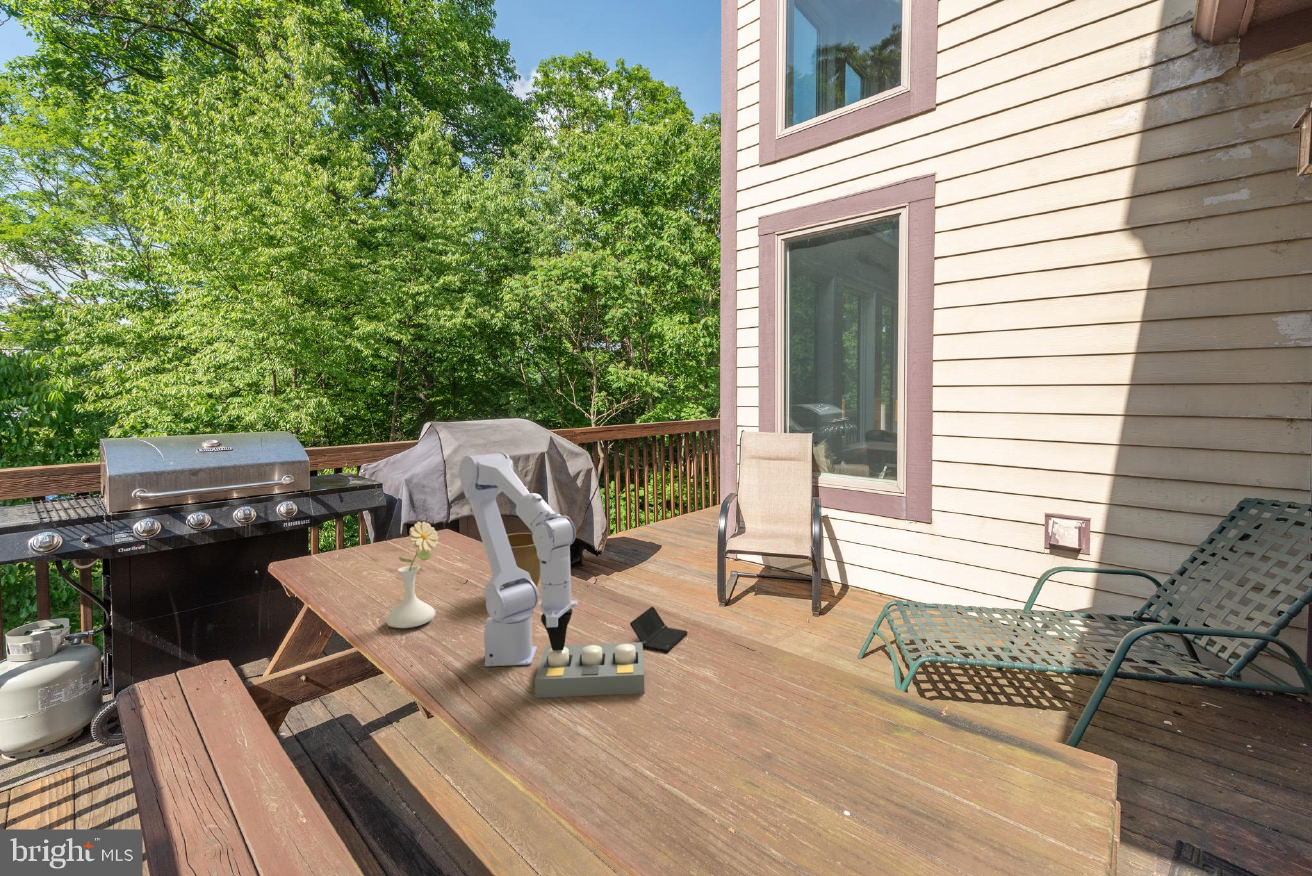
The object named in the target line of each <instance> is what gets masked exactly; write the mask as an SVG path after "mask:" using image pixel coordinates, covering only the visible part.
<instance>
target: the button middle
mask: <svg viewBox="0 0 1312 876" xmlns="http://www.w3.org/2000/svg"><path fill="white" fill-rule="evenodd" d="M581 652H582V666H594V665H602V648H601V647H600V646H597V645H590V646H586V647H584V648H582V650H581Z"/></svg>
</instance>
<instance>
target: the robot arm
mask: <svg viewBox="0 0 1312 876" xmlns="http://www.w3.org/2000/svg"><path fill="white" fill-rule="evenodd" d="M457 472H458V473H457V474H458V477H459V481H460V484H461V488H462V491H463V493H464V496H465V498H466V499H468V500H469V504H470V506H471V509H472V513H473V516H474V518H475V522H476V525H477V529H478V532H479V534H480V537H481V541H482V544H483V548H484V550H485V551H484V552H485V554H486V558H487V560H488V563H489V567H490V571H491V573H492V576H491V577H490V579H489V581H488V582H487V583H486V585H485V586H484V588H483V590H484V591H483V592H484V594H485V595H484V596H485V607H486V611H487V614H488V615H489V617H487V619H486V620H485V624H484V633H483V635H484V637H483V638H484V660H485V662H484V666H485V667H499V666H501V667H502V666H503V667H504V666H527V665H531V664H532V662H533V659H534V658H535V655H536V653H537V648H538V646H536V645H533V634H532V633H533V632H532V615H534V613H535V609H536V608H537V606H538V605H539V602H540V601H539V600H541V602H540V610H541V611H542V612H543V613H542V614H541V617H540V620H541V621H540V622H541V624H542V625H543V627H544V628H545V630H546V633H547V636H548V639H549V640H548V641H549V643H550V646H551V647H552V650H553V651H558V650H563V649H564V645H565V643H566V637H567V630H568V625H569V623H570V621H571V617H572V615H573V608H577V607H578V604H579V603H578V600H575V599H574V600H573V599H572V580H571V578H572V577H571V573H572V572H571V550H570V549H571V545H572V544H574V542H575V540H576V537H577V536H576V535H577V530H576V526H575V524H574V521H572V519H571V518H570V516H568V515H561V513H556V511H554V509H553V508H552V507H551V506H550V505H549V504H548V503H547V502H546V501H545V500H544V499H543V497H542V496H541V495H540V494H539V493H536V492H535V493H534V492H532V493H530V491H529V490H528V489H527V488H526V486H525V485H524V484H523V483H524V482H522V481H521V480H520V478H519V477H518V475H517V474H516V472H515V471H514V462H513V460H512V459H511V458H510V456H509V455H508V453H506V452H504V451H503V452H502V451H499V452H498V453H487V454H477V455H464V456H463V457H462V459H461V460H460V463H459V468H458V471H457ZM502 492H503V493H504V495H506V496H507V497H508V498H509V500H511V502H513V503H514V504H515V505H516V507H515V513H516V515H517V516H518V517H519V519H520V520H521V521H522V522H523V524H525V525H526V526H527V528H528V529H529V530H530V532H531V533H534V534H532V538H533V542H534V544H535V546H536V549H537V556H538V559H540V573H541V575H540V592H539V589H538V586H537V587H536V585H535V584H534V583H533V581H532V579H531V577H530V574H529V573H528V572H526V571H524V570H522V569H520V568H518V567H517V565H516V562H515V559H514V556H513V553H512V549H511V546H510V543H509V540H508V537H507V535H508V534H507V531H506V528H505V525H504V522H503V519H502V516H501V513H500V509H499V506H498V503H497V496H498V495H499V494H500V493H502ZM509 584H514V585H511V586H507V587H503V586H506V585H509ZM540 594H541V596H540ZM540 598H541V599H540Z"/></svg>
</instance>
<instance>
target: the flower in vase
mask: <svg viewBox="0 0 1312 876" xmlns="http://www.w3.org/2000/svg"><path fill="white" fill-rule="evenodd" d="M438 535H439V534H438V532H437V530H435V526H434V527H432V526H431V524H430V523H428V522H426V521H423V522H421V521H417V522H416V523H414V525H413V526H411V527H410V528H409V535H408V537H409V539H410V541H409V542H410V544H412V546H413V547H414V548H415V549H416V552H415V555H414V556H413V560H412V559H410V558H404V557H401V556H399V557H398V559H399V560H400V562H402V563H403V562H404V563H410V565H406V566H403V567H400V568H397V572H398V574H399V575H400V576H401V577H402V580H403V581H402V582H403V586H404V597H403V599H402V601H401V602H400V603H398V605H396V606H395V607H394V608H393V609H392V610H391V611H390V612H389V613H388V614H387V616H386V617H385V623H386V624H387V625H388V627H391V628H397V629H408V628H409V629H410V628H416V627H418V626H419V627H420V626H422V625H425V624H427V623H428V622H430V621H432V620H433V619H434V618H435V616H436V610H435V608H433V607H432V606H431V605H430V604H428V603H426V602H424V601H423V600H420V599H419V598H418V597H417V595H416V592H415V591H416V589H415V585H416V584H415V583H416V576H417V573H418V571H419V570H420V566H419V565H413V564H414V562H415V560H416V557H417V558H418V559H420V560H421V561H427V560H429V559H430V558H432V557H433V553H431V552H432V550H433V548H436V547H437V545H438V544H439V542H438V541H439V536H438Z"/></svg>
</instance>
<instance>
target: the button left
mask: <svg viewBox="0 0 1312 876" xmlns="http://www.w3.org/2000/svg"><path fill="white" fill-rule="evenodd" d="M548 667H569V649H568V648H566V647H564V649H563V650H558V651H553V650H552V648H551V649H550V650H549V651H548Z"/></svg>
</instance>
